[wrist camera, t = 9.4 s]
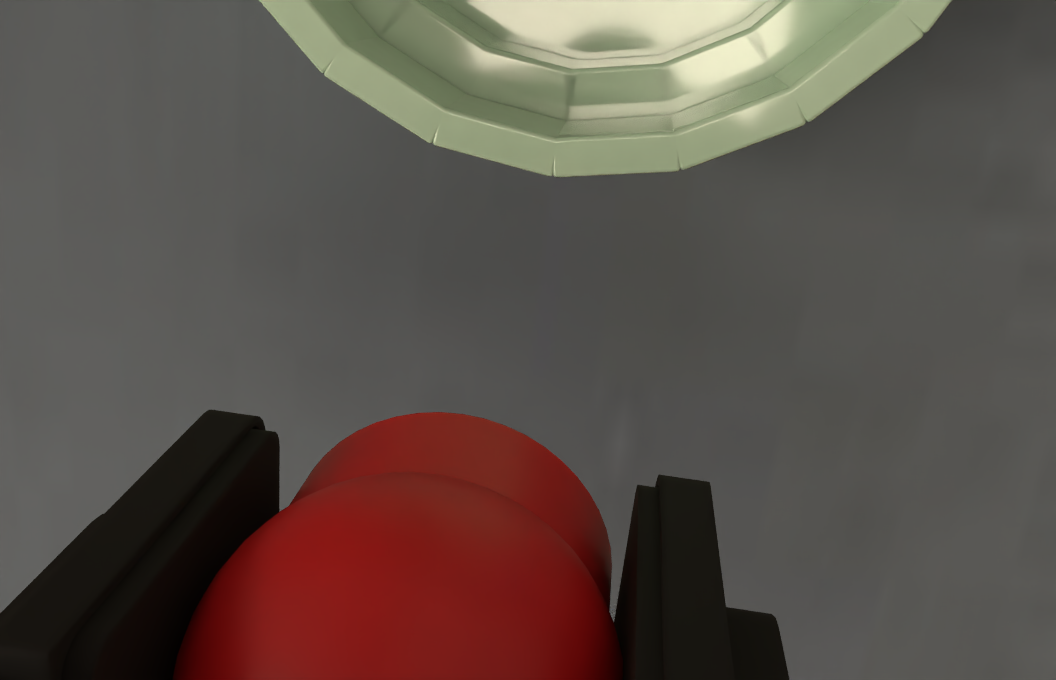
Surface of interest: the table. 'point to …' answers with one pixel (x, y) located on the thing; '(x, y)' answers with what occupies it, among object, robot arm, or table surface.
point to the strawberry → (418, 567)
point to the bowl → (602, 71)
